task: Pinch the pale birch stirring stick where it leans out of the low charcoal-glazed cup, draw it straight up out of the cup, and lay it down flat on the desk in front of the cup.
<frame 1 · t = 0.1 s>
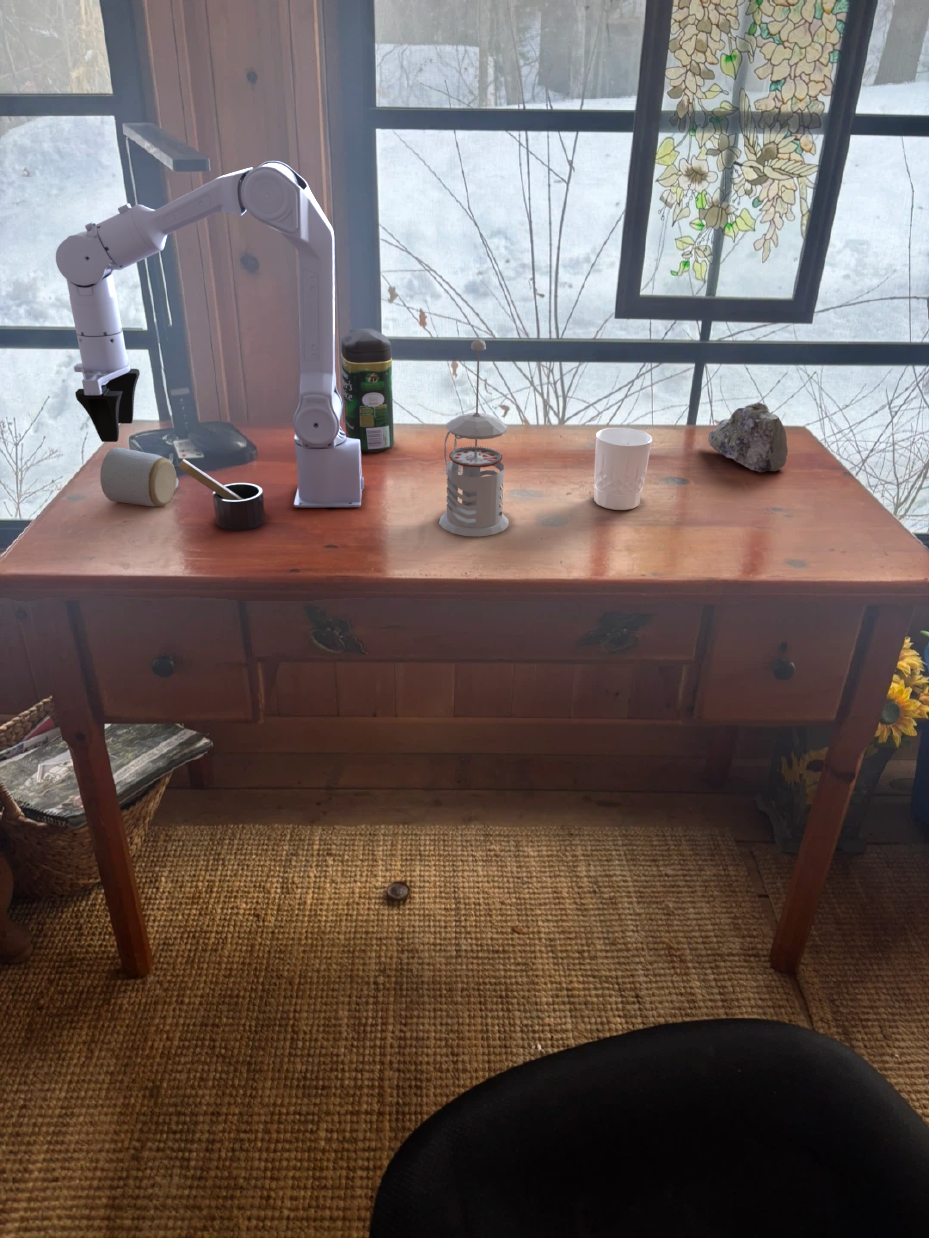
hand: (117, 431, 127), 10 cm above the table, tool pointing down, fingers open, 7 cm apart
cup: (240, 521, 126), on the table
ceramic mug: (147, 500, 132), on the table
coffee jar: (369, 445, 154), on the table
stirrer: (219, 489, 124), point 5 cm above the table, touching cup
french press: (470, 520, 128), on the table
mineral rock: (744, 461, 151), on the table
white cup: (616, 502, 135), on the table
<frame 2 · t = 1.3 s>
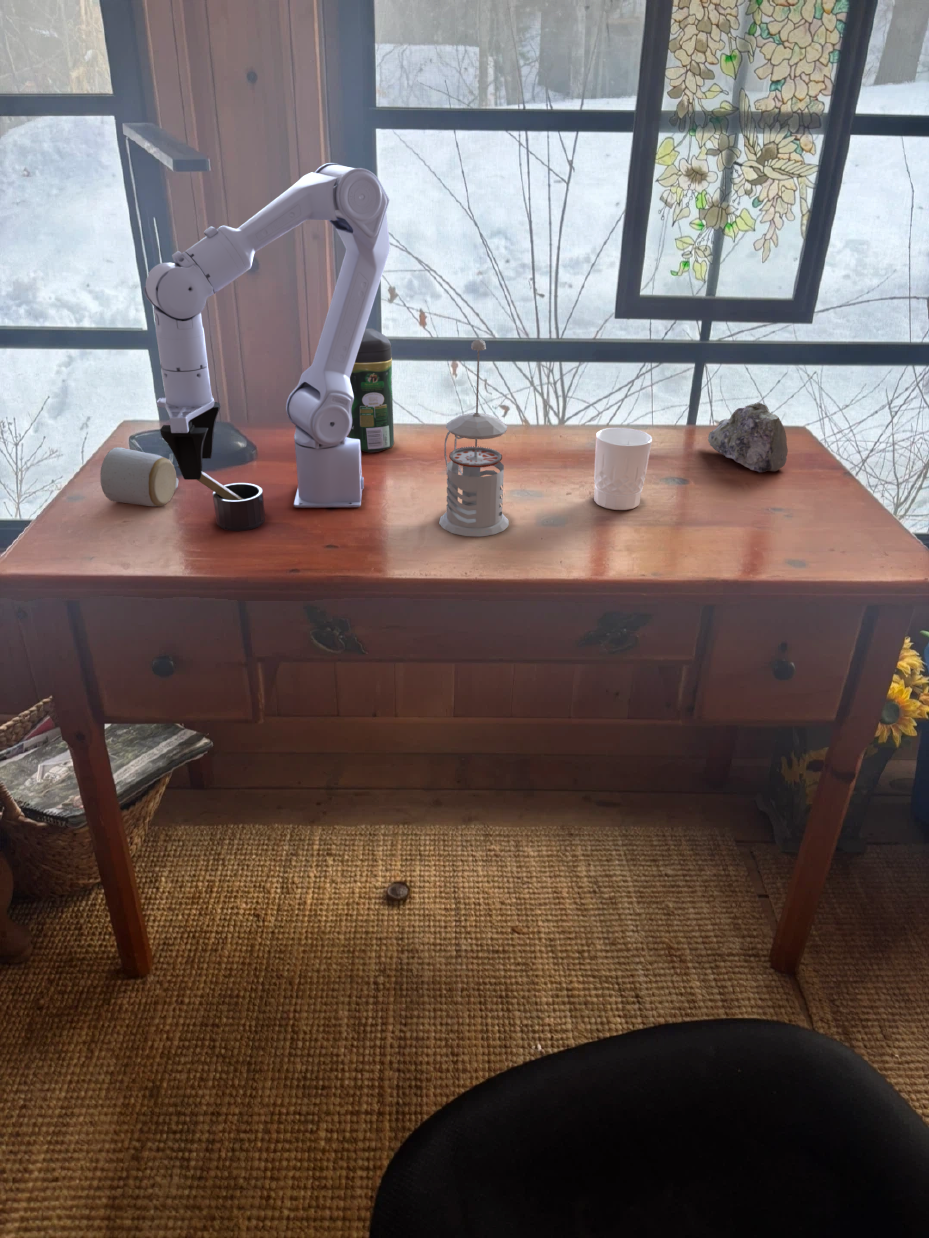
hand: (198, 468, 122), 8 cm above the table, tool pointing down, fingers open, 7 cm apart
nothing on the table moved.
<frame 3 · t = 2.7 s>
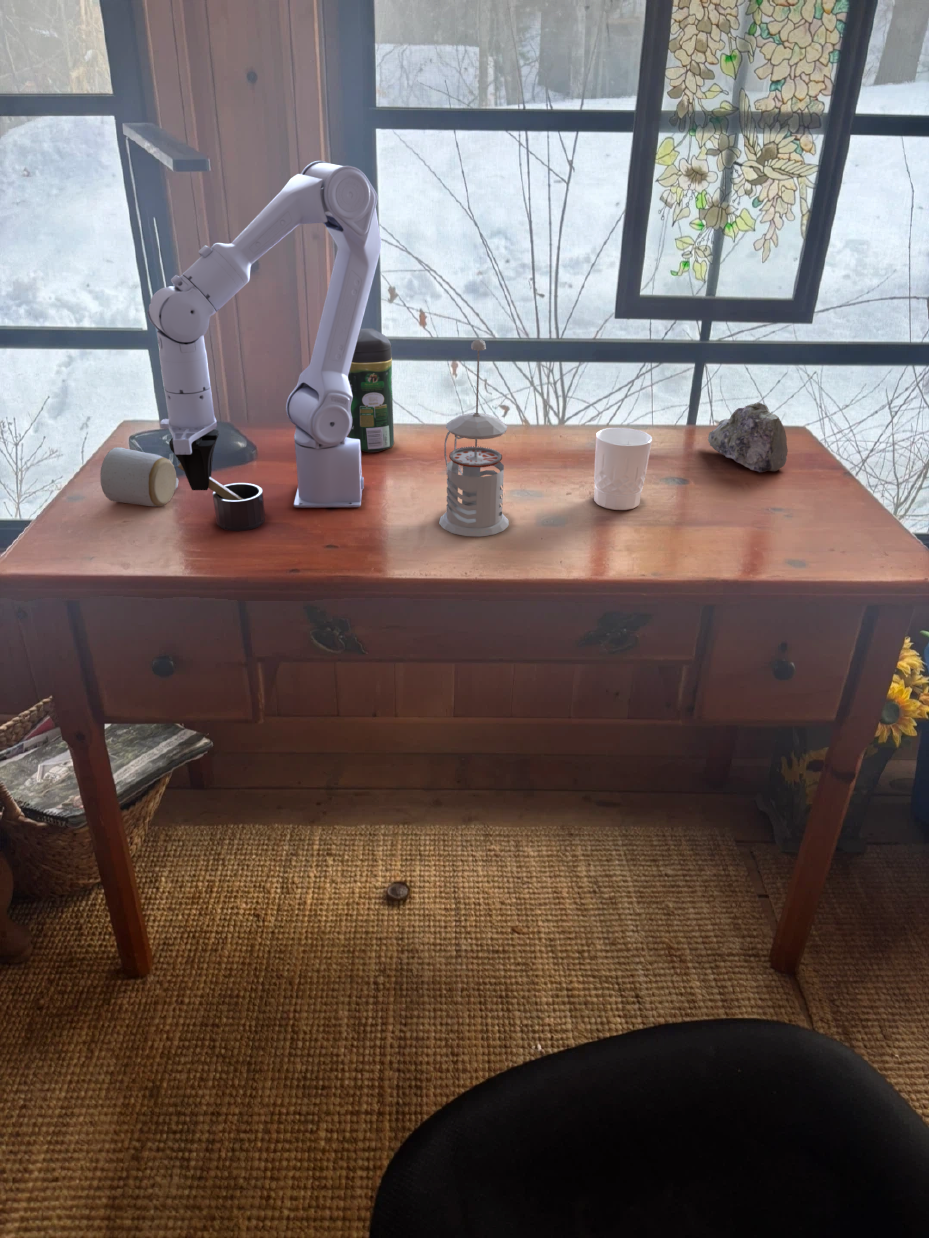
hand: (201, 487, 123), 5 cm above the table, tool pointing down, fingers closed on stirrer, 1 cm apart
stirrer: (219, 489, 123), point 5 cm above the table, touching cup, gripper
everything else where it was.
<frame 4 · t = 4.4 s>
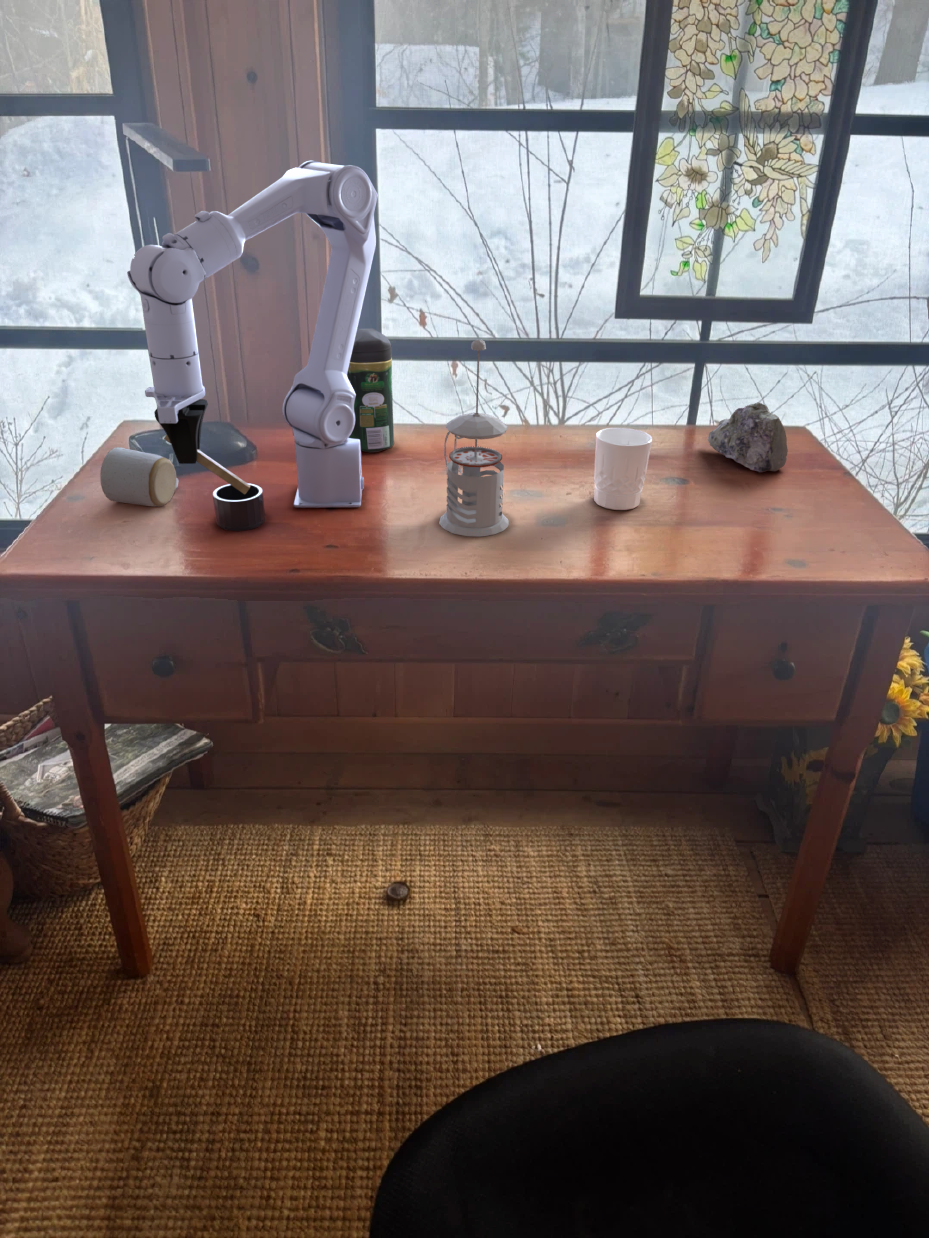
hand: (188, 460, 117), 10 cm above the table, tool pointing down, fingers closed on stirrer
stirrer: (208, 462, 117), point 10 cm above the table, touching gripper
everything else where it was.
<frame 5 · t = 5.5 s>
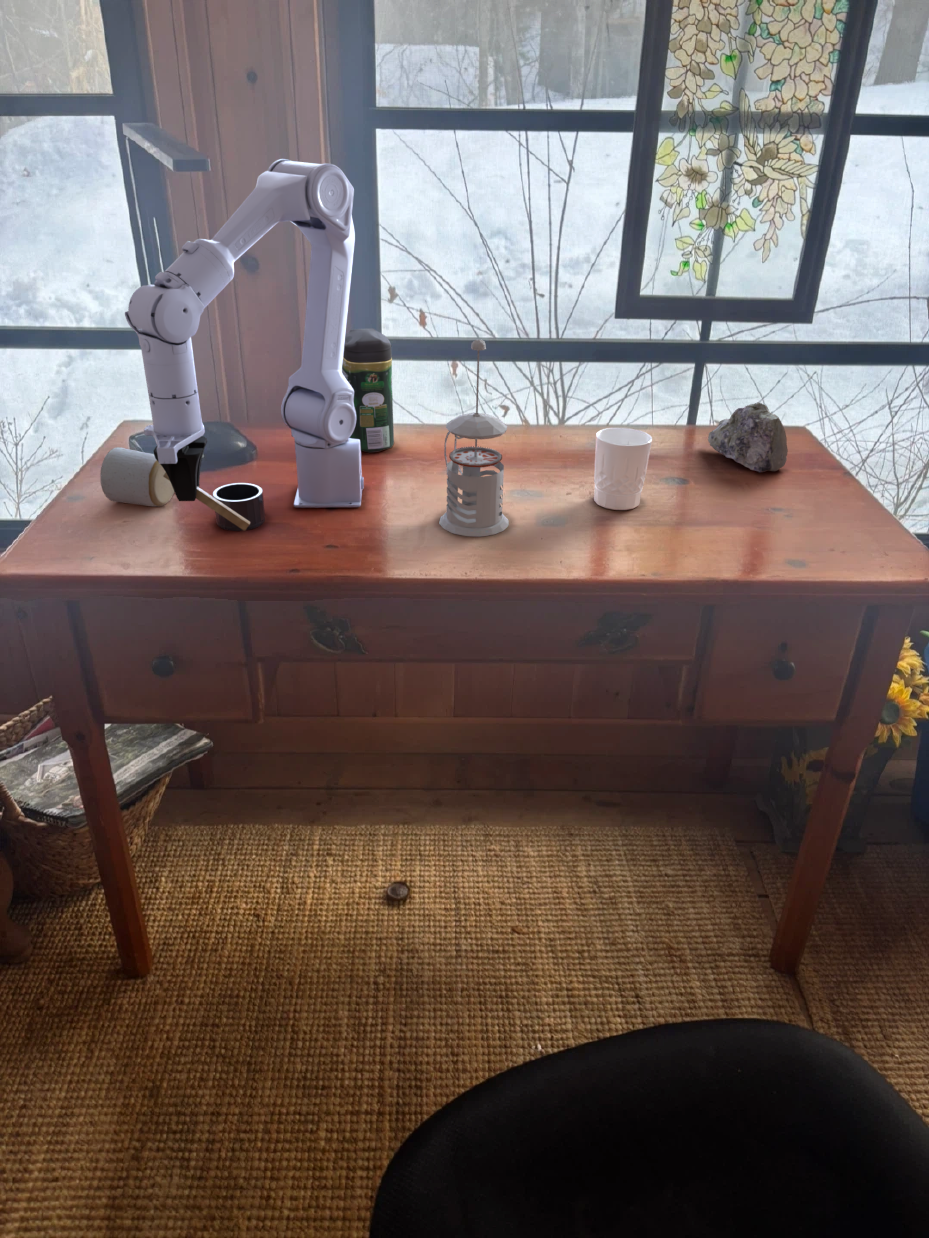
hand: (188, 497, 116), 7 cm above the table, tool pointing down, fingers closed on stirrer, 1 cm apart
stirrer: (207, 499, 116), point 6 cm above the table, touching gripper
everything else where it was.
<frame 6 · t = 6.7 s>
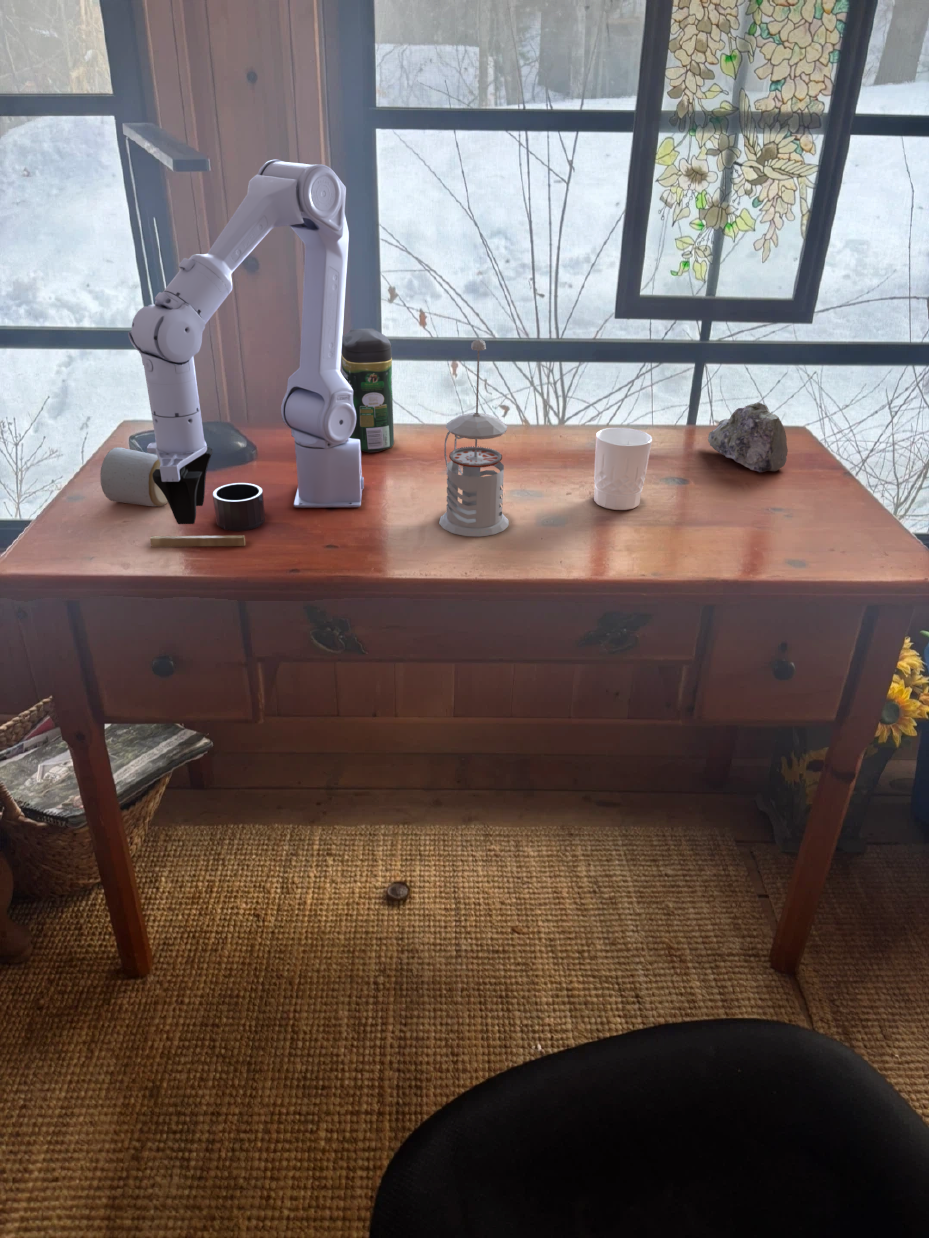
hand: (190, 514, 117), 4 cm above the table, tool pointing down, fingers open, 5 cm apart
stirrer: (198, 541, 119), point 1 cm above the table, tilted 38°
everything else where it was.
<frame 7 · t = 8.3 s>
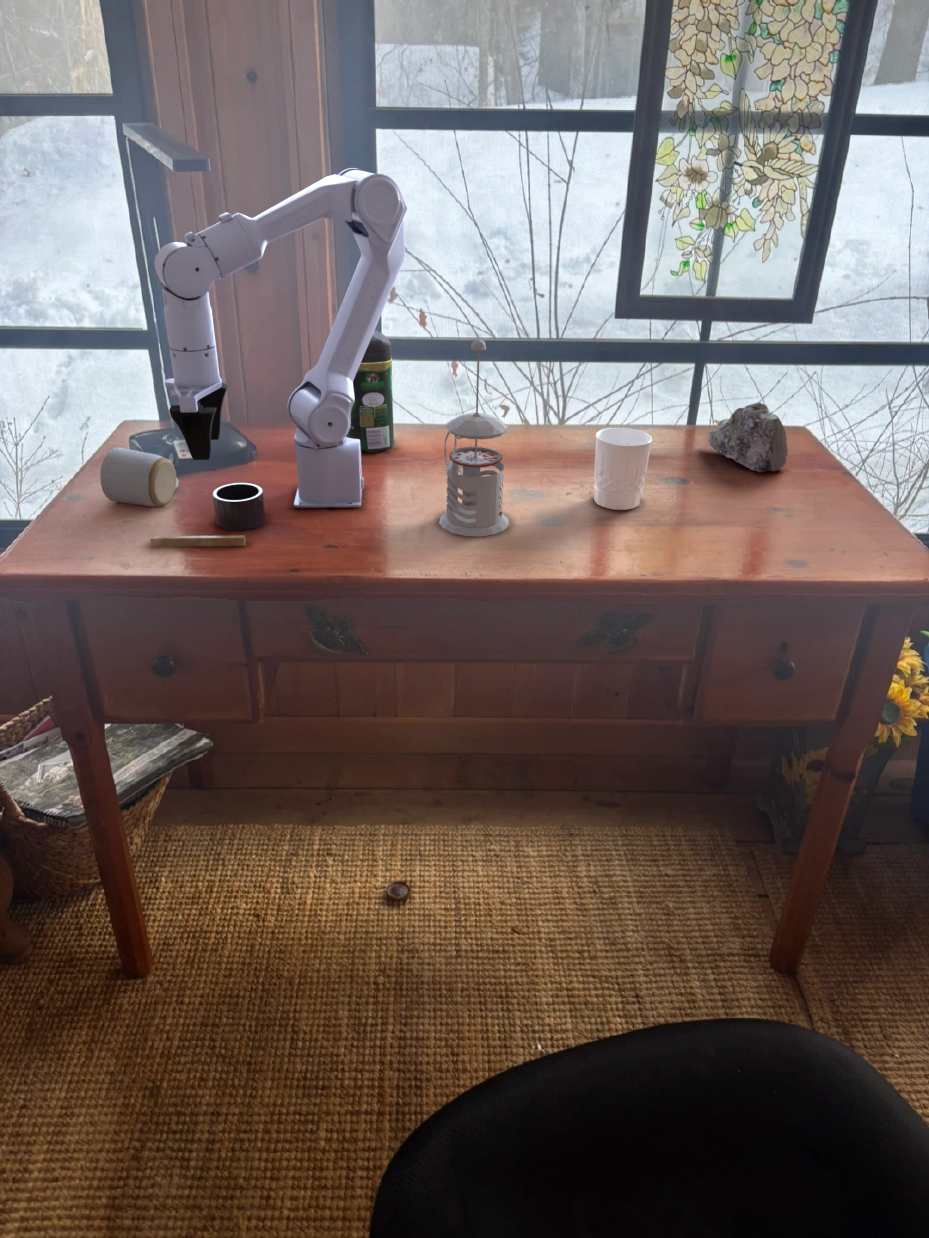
hand: (206, 448, 122), 10 cm above the table, tool pointing down, fingers open, 7 cm apart
nothing on the table moved.
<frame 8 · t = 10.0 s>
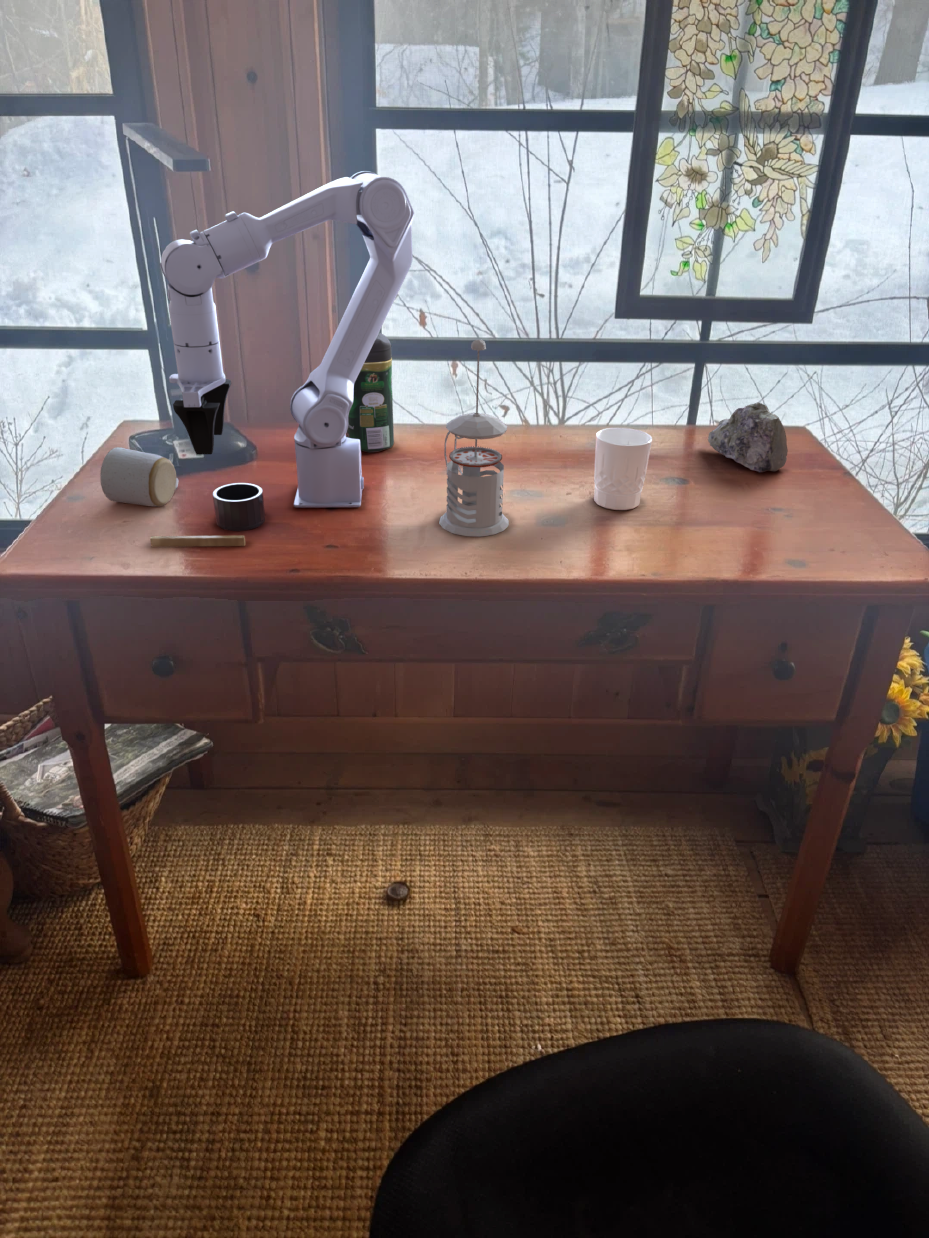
hand: (209, 443, 124), 10 cm above the table, tool pointing down, fingers open, 7 cm apart
nothing on the table moved.
at the end: stirrer touching table; stirrer inside the target area (1.2 cm from its centre), point 0.6 cm above the table; the gripper is holding nothing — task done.
